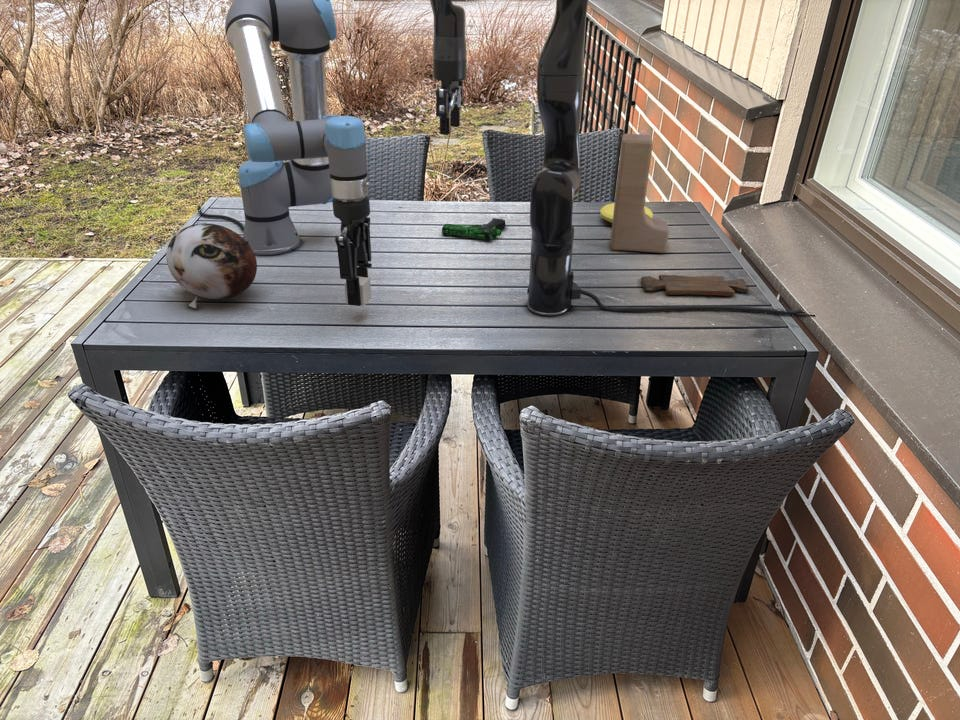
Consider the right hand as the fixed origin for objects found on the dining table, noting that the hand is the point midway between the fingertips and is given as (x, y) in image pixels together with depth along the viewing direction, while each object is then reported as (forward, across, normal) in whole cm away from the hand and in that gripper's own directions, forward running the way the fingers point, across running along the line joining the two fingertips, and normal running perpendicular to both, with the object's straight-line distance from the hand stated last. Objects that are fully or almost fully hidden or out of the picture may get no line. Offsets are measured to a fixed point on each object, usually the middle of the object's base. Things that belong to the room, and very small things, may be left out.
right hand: (450, 130), depth 169 cm
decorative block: (+34, +26, -46) cm, 64 cm away
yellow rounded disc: (+34, +46, -42) cm, 71 cm away
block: (+30, -35, +11) cm, 47 cm away
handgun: (+34, +25, 0) cm, 43 cm away
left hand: (+30, -35, +11) cm, 47 cm away
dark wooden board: (+34, +3, -62) cm, 71 cm away
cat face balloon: (+34, -33, +48) cm, 68 cm away
